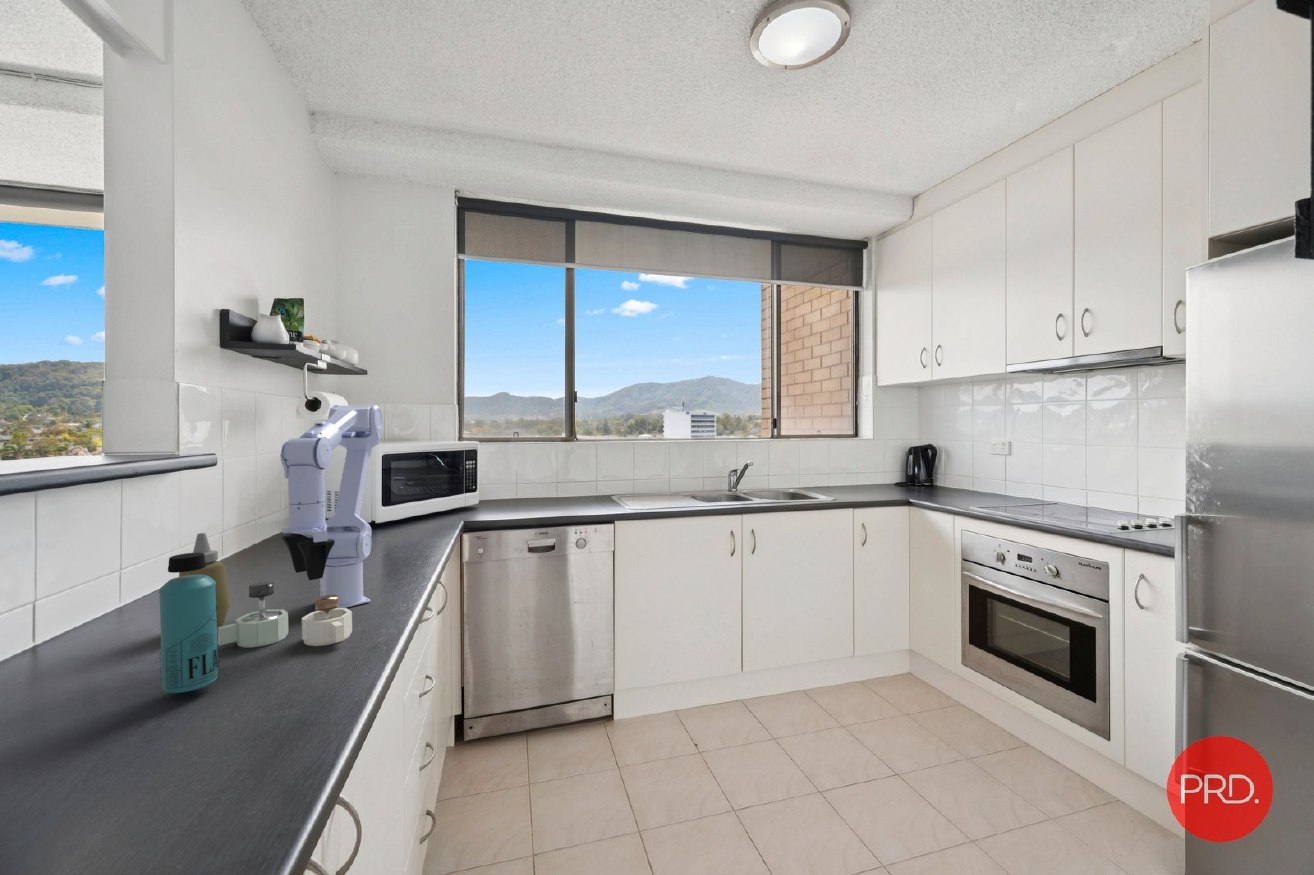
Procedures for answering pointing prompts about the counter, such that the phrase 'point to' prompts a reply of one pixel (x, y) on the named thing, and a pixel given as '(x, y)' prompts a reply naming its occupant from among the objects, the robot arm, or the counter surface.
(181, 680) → the beverage bottle
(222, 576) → the squeeze bottle
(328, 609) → the cream press plunger
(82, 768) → the counter surface
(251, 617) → the sage press plunger
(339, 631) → the cream press pot
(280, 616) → the sage press pot
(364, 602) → the robot arm
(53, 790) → the counter surface
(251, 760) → the counter surface
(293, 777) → the counter surface
